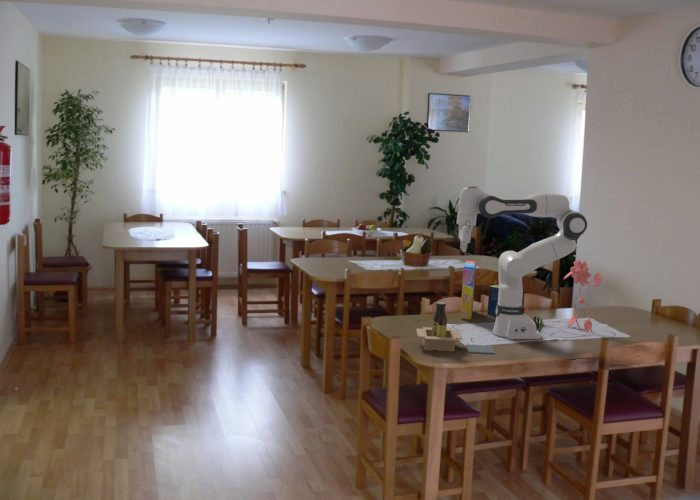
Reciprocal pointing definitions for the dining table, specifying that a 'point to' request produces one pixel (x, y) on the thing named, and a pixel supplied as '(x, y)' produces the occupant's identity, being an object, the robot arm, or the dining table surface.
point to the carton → (439, 339)
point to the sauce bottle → (439, 321)
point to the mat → (480, 349)
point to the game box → (468, 290)
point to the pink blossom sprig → (581, 274)
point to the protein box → (496, 299)
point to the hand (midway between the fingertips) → (462, 250)
